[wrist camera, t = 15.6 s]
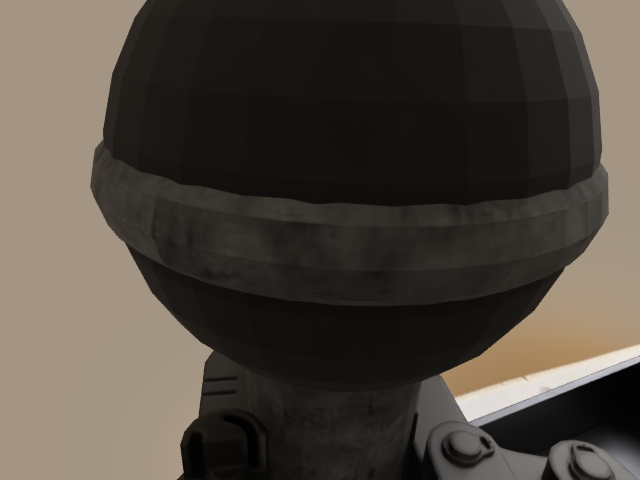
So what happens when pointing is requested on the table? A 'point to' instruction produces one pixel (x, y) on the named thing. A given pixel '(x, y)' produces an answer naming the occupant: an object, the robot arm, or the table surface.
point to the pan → (576, 416)
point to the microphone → (350, 196)
